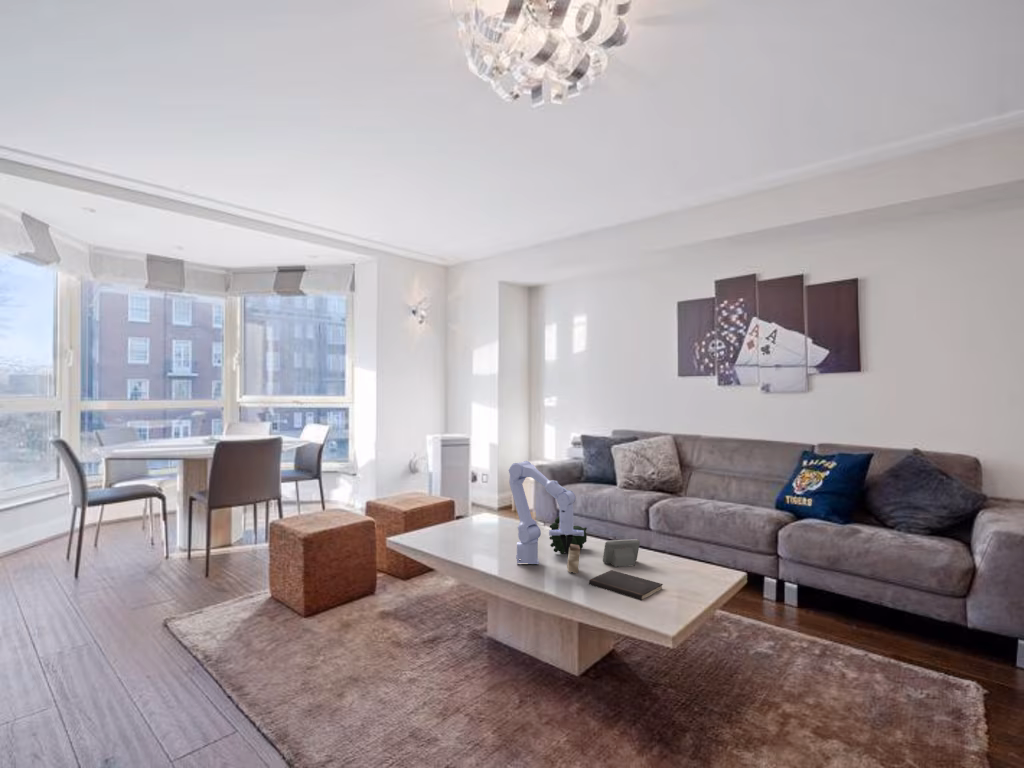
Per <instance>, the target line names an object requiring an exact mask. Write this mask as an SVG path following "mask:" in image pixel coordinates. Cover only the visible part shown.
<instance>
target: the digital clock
mask: <svg viewBox="0 0 1024 768" xmlns="http://www.w3.org/2000/svg"><path fill="white" fill-rule="evenodd" d="M640 545H641V542H640V540H639V539H637V538H635V539H634V538H633V539H617V540H613V539H612V540H606V542H605V543H604V550H603V557H602V562H603V564H611V563H612V564H613V565H612V564H611V565H612V566H613V567H614V568H621V567H620V566H624V567H632V566H631V565H636V563H635V562H636V561H637V559H638V556H639V550H640ZM617 566H619V567H617Z"/></svg>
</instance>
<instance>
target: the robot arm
mask: <svg viewBox="0 0 1024 768" xmlns="http://www.w3.org/2000/svg"><path fill="white" fill-rule="evenodd" d="M508 474H509V486H510V490H511V493H512V494H511V495H512V498H513V501H514V504H515V509H516V513H517V515H518V519H519V524H518V526H517V531H518V533H517V537H518V539H519V541H517V542H516V556H515V558H516V564H517V563H528V564H540V563H539V558H538V557H539V556H538V555H539V554H538V553H539V552H538V550H539V549H538V546H539V545H538V544H539V543H538V542H539V538H540V537H541V534H542V533H541V532H542V531H541V528H540V527H539V525H538V523H537V521H536V520H535V519H533V517H532V514H531V511H530V507H529V503H528V500H527V496H526V491H525V489H524V486H523V484H524V481H525V480H526V478H532V479H533V480H535V481H536V482H537V483H539V484H540V485H542V486H543V487H544V489H545V492H547V494H549V495H550V496H552V497H553V498H554V499H555V500H556V502H557V505H558V506H559V507H558V508H559V516H560V523H559V528H558V530H551V529H548V536H549V537H550V536H552V535H560V538H561V540H562V543H563V546H564V550H565V553H564V554H567V553H568V551H569V547H570V544H571V542H572V540H573V536H584V531H583V530H573V526H574V503H575V502H576V499H577V498H576V494H575V492H573V491H572V490H571V489H569V490H567V488H566V487H563V486H562V485H560V484H559V481H558V480H554V479H552V480H550V479H549V478H548V477H547V476H545V475H544V474H543V473H542V472H541V471H540V470H539V469H538V468H536V466H535V465H534V464H533V463H531V462H530V461H528V460H524V461H520V462H514V463H512V464H511V465H510V467H509V469H508ZM566 536H567V546H566ZM519 559H521V560H519Z"/></svg>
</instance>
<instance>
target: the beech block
mask: <svg viewBox="0 0 1024 768" xmlns="http://www.w3.org/2000/svg"><path fill="white" fill-rule="evenodd" d="M580 554H581V549H580V547H579V545H575V544H570V547H569V554H567V555H568V556H567V564H566V569H567V572H568V573H571V572H573V574H578V573H579V565H580V558H581V557H580Z"/></svg>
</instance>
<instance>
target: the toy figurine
mask: <svg viewBox="0 0 1024 768" xmlns="http://www.w3.org/2000/svg"><path fill="white" fill-rule="evenodd" d="M549 528H550V530H558V529H559V528H560V515H559V516H557V517H556V518H555V519H554V522H552V523H551V524H550V525H549ZM587 529H588V528H587V527H582V526H579V525H573V530H583V531H584V536H573V540H572V542H571V544H575V545H579V547H580V550H581V548H582V549H583V548H584V545H585V543H587V541H588V540H587V538H588V536H587ZM549 540H551V541H552V542H551V543H550V544H549V546H550V547H551V548H553V547H554V548H553V552H554V553H558V552H559V553H560V554H561V555H563V554H567V555H568V554H569V551H568V553H565V550H564V546H563V543H562V540H561V538H560V535H552V536H549ZM566 546H567V536H566Z"/></svg>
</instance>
